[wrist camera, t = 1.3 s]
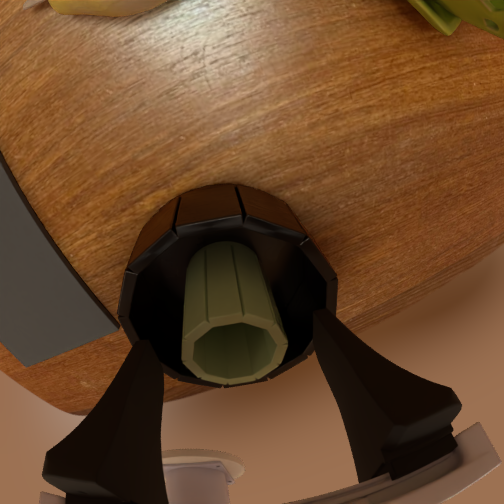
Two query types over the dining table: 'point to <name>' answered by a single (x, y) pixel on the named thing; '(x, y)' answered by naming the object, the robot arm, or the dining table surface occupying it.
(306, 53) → the dining table surface
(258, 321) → the small pot
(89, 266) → the dining table surface
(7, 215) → the mat
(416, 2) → the flower pot
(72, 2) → the fruit
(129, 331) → the large pot
